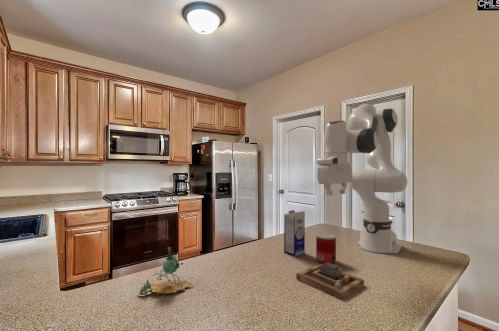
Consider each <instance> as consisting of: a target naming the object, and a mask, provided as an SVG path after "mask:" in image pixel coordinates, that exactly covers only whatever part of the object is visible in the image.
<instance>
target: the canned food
mask: <svg viewBox="0 0 499 331" xmlns="http://www.w3.org/2000/svg"><path fill="white" fill-rule="evenodd" d="M315 239H316V240H315V242H316V243H315V244H316V246H315V250H316V251H315V253H316V261H317V262H318V264H321V265H323V264H325V263H327V262H328V263H331V264H334V265H335V264H336V261H337V237H336V235H335V234H331V233H324V232H323V233H320V232H319V233H317V234H316V237H315Z"/></svg>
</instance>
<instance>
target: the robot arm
mask: <svg viewBox="0 0 499 331" xmlns="http://www.w3.org/2000/svg"><path fill="white" fill-rule="evenodd" d="M398 119H399V118H398V114H397V113H396V111H395V110H394V109H393V108H385V109H382V110H381V109H380V110H377V108H376V107H375V106H374V105H373V104H371V103H362V104H360V105H359V106H358V107H355V109H354V110H353V111H352V112H351V113H350V115H349V117H348V121H347V122H346V120H336V121H330V122H328V123H326V125H325V129H324V130H325V131H324V146H325V151H324V155H323V156H322V157H320V158H317V161H316V163H317V165H318V166H317V170H316V174H317V177H316V178H317V183H318V184H319V185H324V186H323V187H324V189H325V192H326V193H325V194H326V196H330V197H331V196H332V195H333V190H332V188H331V187H332V184H340V189H339V194H340V195H345V194H346V189H347V187H348V184H349V187H350V188H351V189H352V190H354V192H356V193H357V195H358V196H359V197H360V198H361V200H362V204H363V215H364V216H363V221H362V223H363V227H362V228H361V229H360V236H359V241H357V245H358V246H360V248H361V249H363V250H366V251H368V252H373V253H378V254H395V255H397V254H398V253H399V252H400V250H401V249H402V248H403V244H401V243H398V236H397V234H396V232H394V231H393V230H392V225H393V220H390V206H389V204H388V203H387V202H386V201H385V200H383V199H381V198H379V197H378V196H377V195H376V193H401V192H403V191H405V189H406V188H407V187H408V179H407V178H408V177H407V176H406V174H405V173H404V172H403V171H402V170H399V169H398V168H397V167H395V165H394V164H393V163H392V157H391V156H392V142H391V136H390V135H389V133H392V132H393V130H394V129H396V126H397V125H398ZM347 123H348V126H349V128H350V130H348V126H347ZM349 154H366V162H367V164H368V165H369V166H370V167H372V168H373V169H358V170H355V171H353V168H352V165H351V163H350V162H349V161H348V160H349V159H348V158H349V157H348V156H349Z"/></svg>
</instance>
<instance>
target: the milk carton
mask: <svg viewBox="0 0 499 331" xmlns="http://www.w3.org/2000/svg"><path fill="white" fill-rule="evenodd" d="M283 216H284V217H283V235H284V236H283V253H284V254H287V255H289V256H293V257H295V258H296V257H298V256H301V255H304V254H305V252H306V251H305V250H306V246H305V245H306V244H305V243H306V242H305V240H306V237H305V233H306V232H305V231H306V230H305V229H306V228H305V224H306V222H305V221H306V219H305V218H306V214H305V210H301V211H295V210H294V209H292V210H289V211H288V213H285V214H284V215H283Z"/></svg>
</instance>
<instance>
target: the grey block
mask: <svg viewBox="0 0 499 331" xmlns="http://www.w3.org/2000/svg"><path fill="white" fill-rule="evenodd" d="M321 265H322V266H320V274H321V275H323V276H326V277H328V278H331V279H333V280H336V281H337V280H339V279H341V278H342V272H343V269H342V268H341V267H339V265H337V264H335V263H334V264H331V263H328V262H327V263H325V264H321Z"/></svg>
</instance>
